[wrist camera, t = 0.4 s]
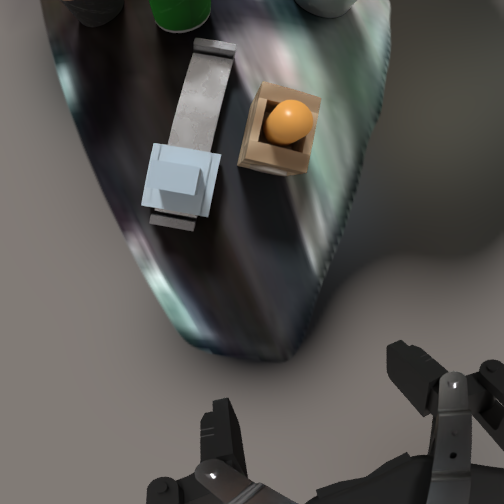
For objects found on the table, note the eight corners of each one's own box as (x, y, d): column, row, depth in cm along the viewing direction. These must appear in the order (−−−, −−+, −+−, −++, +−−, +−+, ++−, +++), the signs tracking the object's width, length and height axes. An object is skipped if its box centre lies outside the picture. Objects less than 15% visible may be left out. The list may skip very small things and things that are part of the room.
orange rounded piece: (266, 109, 28) (277, 95, 23) (300, 118, 29) (316, 106, 24) (259, 141, 29) (268, 132, 24) (293, 150, 29) (309, 143, 24)
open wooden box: (250, 105, 34) (262, 81, 25) (299, 117, 35) (324, 99, 26) (236, 168, 36) (244, 162, 27) (286, 180, 37) (309, 178, 28)
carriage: (158, 146, 33) (140, 132, 24) (220, 157, 34) (223, 146, 25) (146, 203, 34) (125, 209, 25) (208, 214, 36) (207, 224, 26)
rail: (196, 51, 32) (195, 37, 28) (234, 57, 32) (237, 44, 29) (155, 219, 36) (149, 223, 32) (195, 227, 36) (193, 231, 33)
